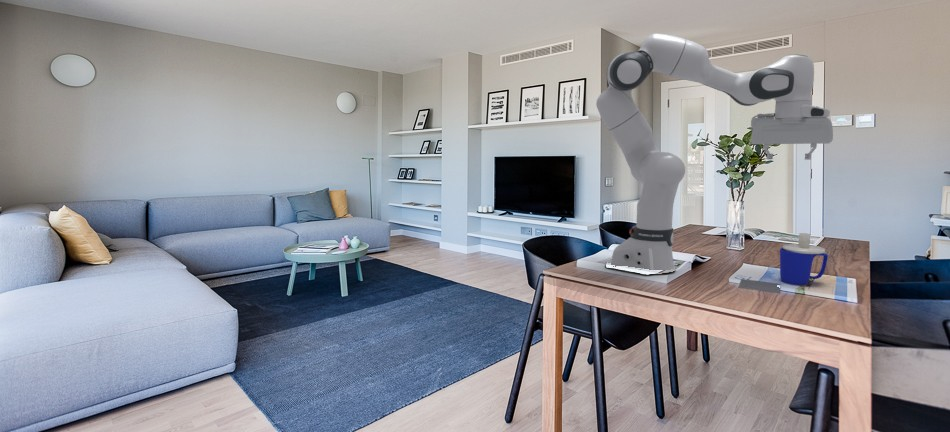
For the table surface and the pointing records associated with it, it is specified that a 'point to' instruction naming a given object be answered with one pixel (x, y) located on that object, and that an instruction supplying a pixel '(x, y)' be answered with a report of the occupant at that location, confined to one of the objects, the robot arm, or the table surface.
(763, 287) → the mat
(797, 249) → the lid
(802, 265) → the mug
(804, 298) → the table surface
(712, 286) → the table surface
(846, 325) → the table surface
